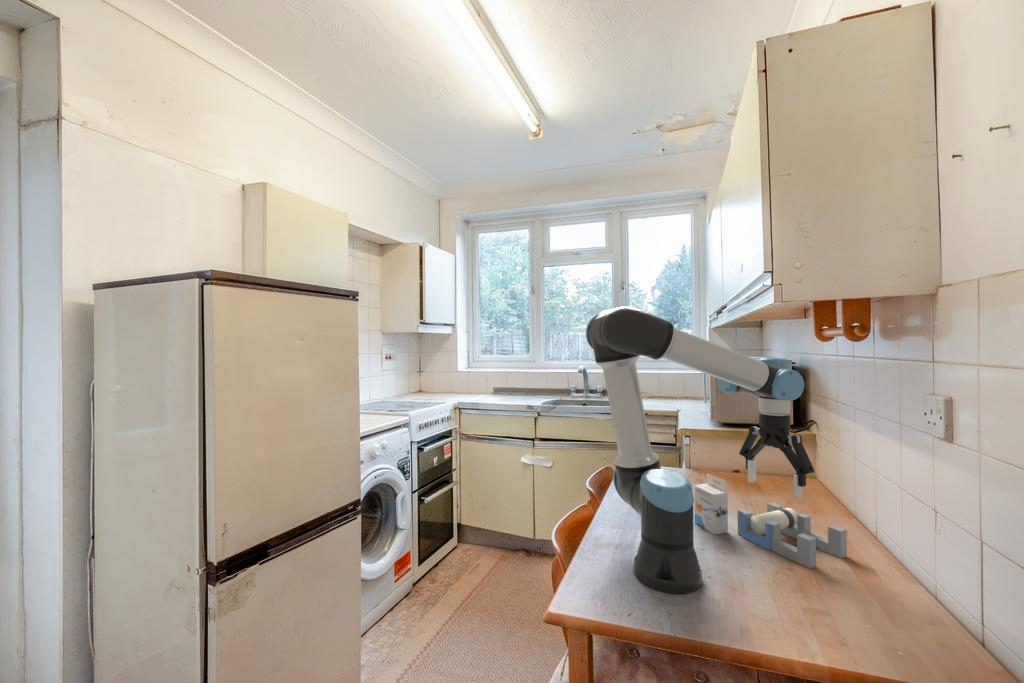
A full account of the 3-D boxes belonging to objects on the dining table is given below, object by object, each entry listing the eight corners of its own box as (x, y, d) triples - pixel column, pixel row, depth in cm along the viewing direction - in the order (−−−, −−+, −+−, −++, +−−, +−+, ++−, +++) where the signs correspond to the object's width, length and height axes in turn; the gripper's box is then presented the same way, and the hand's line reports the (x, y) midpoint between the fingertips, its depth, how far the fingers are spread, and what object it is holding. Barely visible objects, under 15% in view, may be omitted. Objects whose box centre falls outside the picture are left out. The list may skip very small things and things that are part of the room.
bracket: (807, 568, 103) (807, 540, 103) (736, 534, 121) (736, 510, 121) (848, 555, 108) (848, 529, 108) (774, 524, 127) (774, 502, 127)
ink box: (693, 523, 129) (693, 474, 129) (707, 520, 130) (706, 472, 130) (714, 535, 121) (714, 483, 121) (728, 532, 122) (728, 481, 122)
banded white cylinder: (766, 537, 114) (765, 519, 114) (749, 530, 118) (749, 513, 118) (800, 528, 119) (799, 510, 119) (783, 522, 123) (782, 505, 123)
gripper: (830, 420, 108) (830, 503, 108) (744, 406, 131) (744, 474, 131) (811, 422, 105) (810, 507, 105) (726, 407, 129) (726, 477, 129)
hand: (773, 489), depth 118 cm, fingers open, 13 cm apart
